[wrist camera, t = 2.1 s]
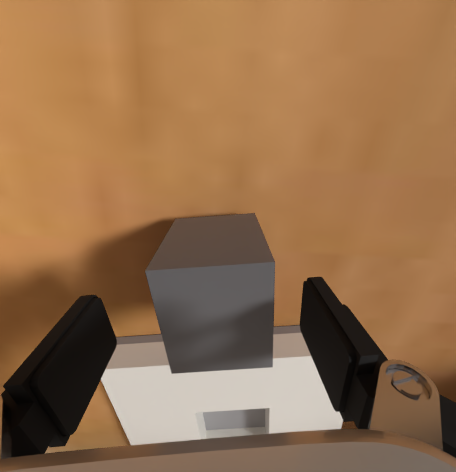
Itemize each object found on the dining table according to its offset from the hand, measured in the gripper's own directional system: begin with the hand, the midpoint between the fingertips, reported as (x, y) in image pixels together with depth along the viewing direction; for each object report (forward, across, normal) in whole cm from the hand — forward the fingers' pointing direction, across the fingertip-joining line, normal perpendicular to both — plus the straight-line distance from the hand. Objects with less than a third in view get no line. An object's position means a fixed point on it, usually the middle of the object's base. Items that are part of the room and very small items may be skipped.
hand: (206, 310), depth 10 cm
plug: (+6, -1, 0) cm, 6 cm away
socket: (+6, -1, +18) cm, 19 cm away
